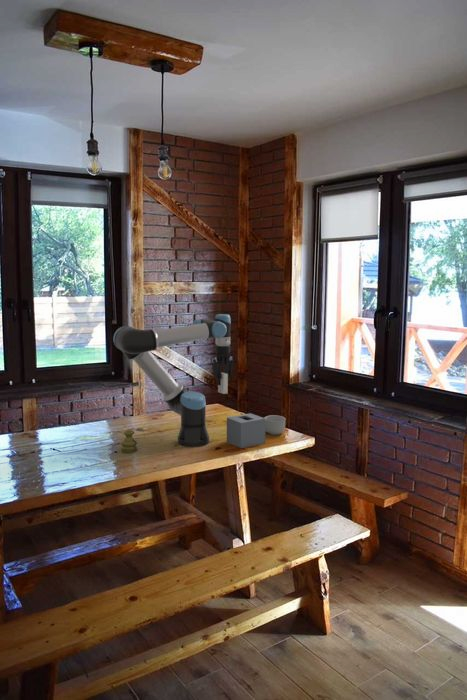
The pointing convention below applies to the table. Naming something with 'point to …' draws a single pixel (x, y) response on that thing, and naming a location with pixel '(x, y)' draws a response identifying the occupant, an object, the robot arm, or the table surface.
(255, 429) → the box
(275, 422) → the teacup
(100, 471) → the table surface
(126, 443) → the olive chess piece
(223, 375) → the white rectangular bar
